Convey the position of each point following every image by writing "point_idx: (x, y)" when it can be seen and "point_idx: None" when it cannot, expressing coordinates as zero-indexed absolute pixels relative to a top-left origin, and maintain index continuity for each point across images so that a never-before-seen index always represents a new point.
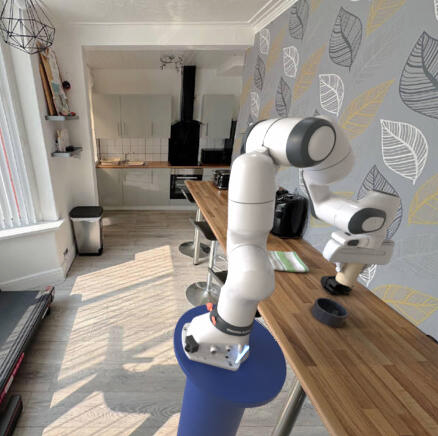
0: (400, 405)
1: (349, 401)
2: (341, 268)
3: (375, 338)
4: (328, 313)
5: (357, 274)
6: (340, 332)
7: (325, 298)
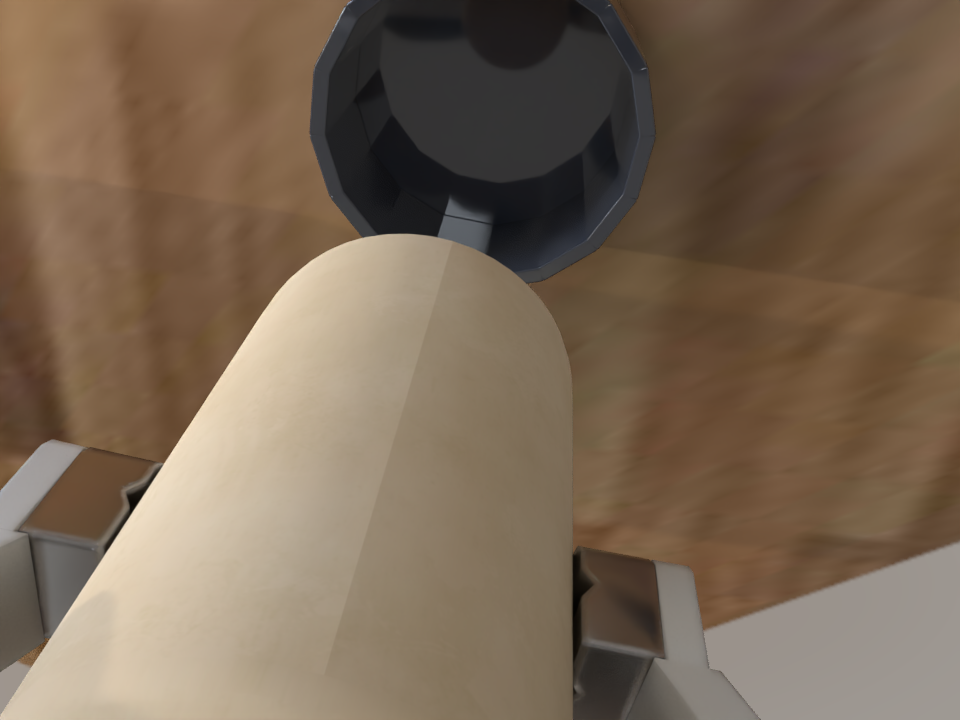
0: None
1: None
2: (4, 647)
3: (725, 365)
4: (354, 223)
5: None
6: None
7: None
